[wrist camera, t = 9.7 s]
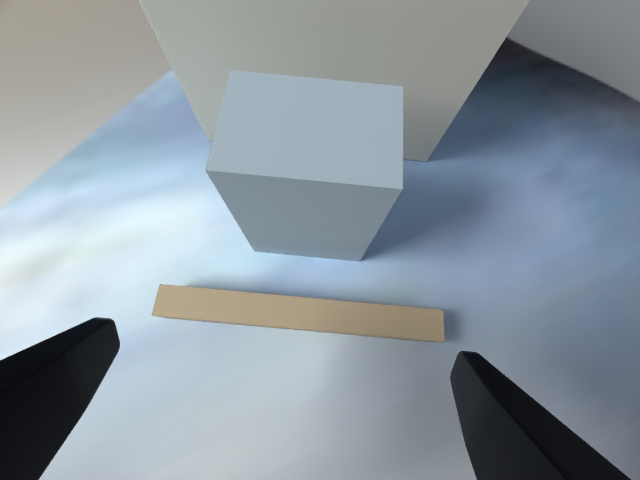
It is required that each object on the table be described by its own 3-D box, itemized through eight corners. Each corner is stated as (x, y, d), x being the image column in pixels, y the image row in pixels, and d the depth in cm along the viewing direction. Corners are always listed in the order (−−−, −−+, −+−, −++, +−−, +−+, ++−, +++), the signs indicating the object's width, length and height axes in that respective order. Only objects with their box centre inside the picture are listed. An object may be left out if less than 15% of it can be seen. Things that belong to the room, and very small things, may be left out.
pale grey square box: (359, 261, 17) (403, 189, 9) (254, 251, 17) (205, 170, 9) (363, 186, 19) (403, 68, 11) (266, 177, 19) (234, 52, 11)
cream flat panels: (432, 342, 16) (613, 339, 6) (165, 317, 16) (-49, 279, 6) (426, 141, 20) (530, -41, 10) (213, 122, 20) (125, -78, 10)
